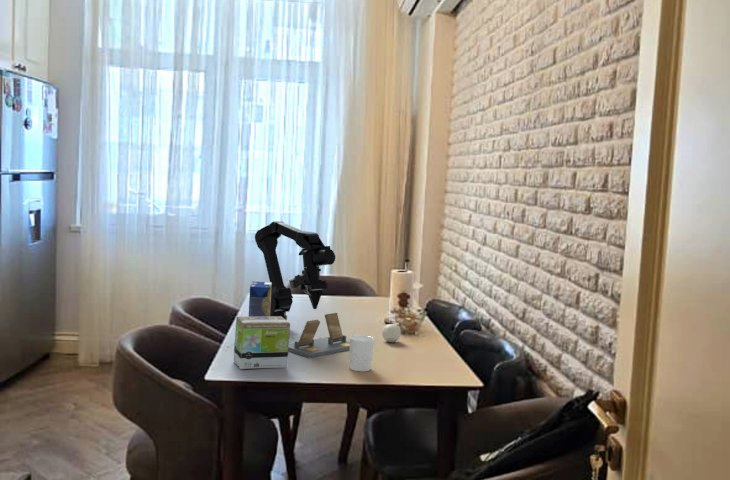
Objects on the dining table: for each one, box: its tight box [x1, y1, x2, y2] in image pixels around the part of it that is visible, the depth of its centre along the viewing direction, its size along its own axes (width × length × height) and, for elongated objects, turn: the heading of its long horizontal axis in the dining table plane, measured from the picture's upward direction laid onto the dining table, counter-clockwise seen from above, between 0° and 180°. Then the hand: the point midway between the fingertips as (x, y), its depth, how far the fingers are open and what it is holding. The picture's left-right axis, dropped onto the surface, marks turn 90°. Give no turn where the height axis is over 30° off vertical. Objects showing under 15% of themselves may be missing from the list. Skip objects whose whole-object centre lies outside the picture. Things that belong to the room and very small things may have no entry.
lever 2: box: [324, 312, 344, 342], centre depth 253 cm, size 1×5×10 cm, turn 137°
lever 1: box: [298, 319, 321, 347], centre depth 241 cm, size 1×5×10 cm, turn 137°
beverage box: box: [248, 280, 272, 317], centre depth 242 cm, size 7×11×22 cm, turn 6°
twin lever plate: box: [288, 334, 350, 359], centre depth 248 cm, size 14×24×3 cm, turn 137°
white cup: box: [348, 334, 375, 372], centre depth 225 cm, size 8×8×10 cm
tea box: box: [233, 316, 291, 370], centre depth 222 cm, size 15×10×15 cm
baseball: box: [381, 323, 402, 343], centre depth 263 cm, size 7×7×7 cm
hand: (314, 309), depth 259 cm, fingers closed
